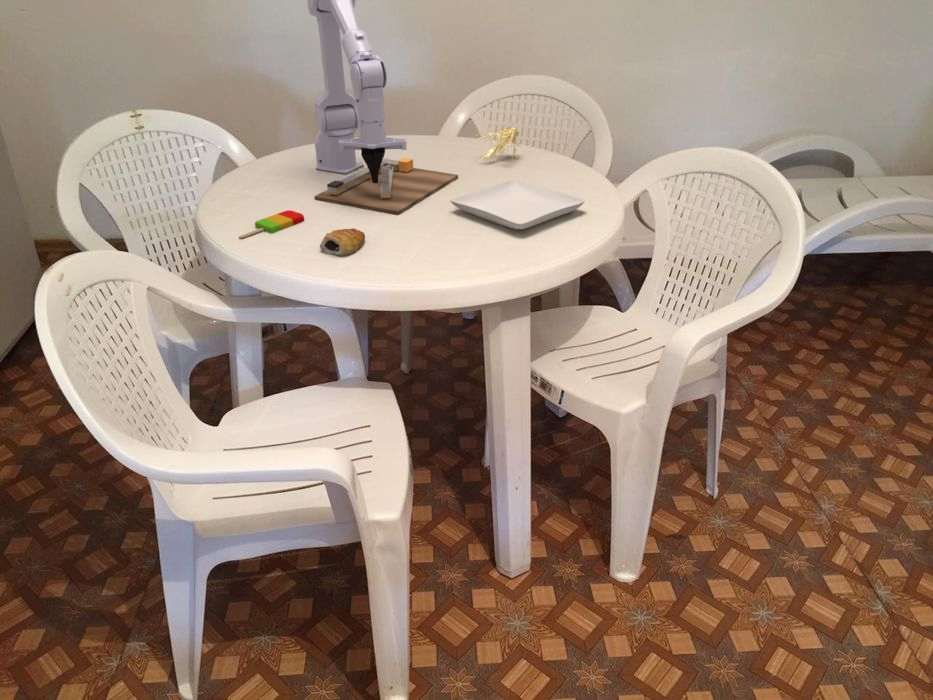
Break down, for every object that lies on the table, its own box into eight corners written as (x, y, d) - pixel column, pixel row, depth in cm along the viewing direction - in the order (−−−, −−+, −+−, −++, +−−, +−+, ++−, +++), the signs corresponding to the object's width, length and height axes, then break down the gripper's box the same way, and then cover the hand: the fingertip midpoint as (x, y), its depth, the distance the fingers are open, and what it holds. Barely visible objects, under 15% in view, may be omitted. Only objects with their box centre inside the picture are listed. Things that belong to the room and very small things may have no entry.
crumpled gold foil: (470, 169, 191) (460, 139, 184) (509, 138, 195) (500, 108, 189) (500, 179, 183) (490, 149, 177) (539, 147, 188) (531, 116, 182)
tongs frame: (385, 165, 181) (384, 156, 180) (402, 167, 179) (402, 159, 178) (328, 193, 163) (327, 184, 162) (347, 197, 161) (346, 187, 160)
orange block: (405, 167, 180) (404, 157, 178) (413, 168, 179) (412, 159, 177) (398, 170, 177) (398, 161, 176) (407, 172, 176) (406, 162, 175)
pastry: (346, 236, 145) (345, 218, 143) (374, 242, 143) (373, 224, 141) (317, 252, 138) (315, 234, 136) (346, 259, 135) (344, 241, 133)
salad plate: (513, 190, 169) (514, 176, 167) (586, 214, 156) (587, 198, 154) (447, 213, 156) (447, 198, 155) (520, 240, 143) (521, 224, 142)
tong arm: (384, 173, 176) (383, 148, 173) (393, 173, 176) (392, 148, 173) (380, 198, 160) (378, 171, 157) (390, 198, 160) (389, 171, 157)
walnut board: (381, 166, 184) (381, 162, 184) (458, 178, 176) (458, 174, 175) (314, 199, 163) (314, 196, 163) (398, 215, 154) (398, 211, 154)
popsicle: (307, 222, 152) (306, 214, 151) (249, 245, 142) (247, 236, 141) (290, 217, 155) (288, 208, 154) (232, 238, 145) (230, 229, 144)
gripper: (335, 125, 151) (341, 188, 158) (404, 123, 151) (407, 186, 158) (338, 116, 157) (344, 178, 164) (405, 115, 157) (408, 176, 164)
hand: (375, 181), depth 161 cm, fingers closed
